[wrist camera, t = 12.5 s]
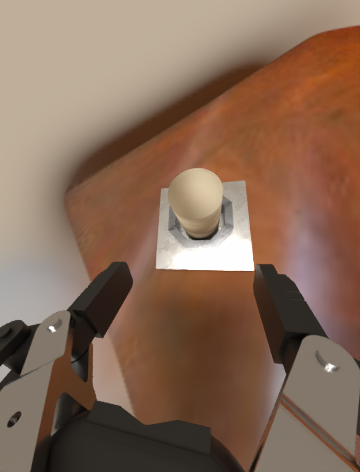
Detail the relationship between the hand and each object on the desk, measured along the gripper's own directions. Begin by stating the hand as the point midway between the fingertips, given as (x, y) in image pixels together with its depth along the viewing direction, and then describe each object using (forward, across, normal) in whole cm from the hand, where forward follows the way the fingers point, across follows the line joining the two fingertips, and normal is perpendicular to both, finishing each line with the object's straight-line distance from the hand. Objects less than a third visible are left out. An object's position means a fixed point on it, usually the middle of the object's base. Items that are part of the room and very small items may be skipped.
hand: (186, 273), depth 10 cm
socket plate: (+16, 0, +5) cm, 17 cm away
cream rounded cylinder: (+14, 0, +4) cm, 15 cm away
